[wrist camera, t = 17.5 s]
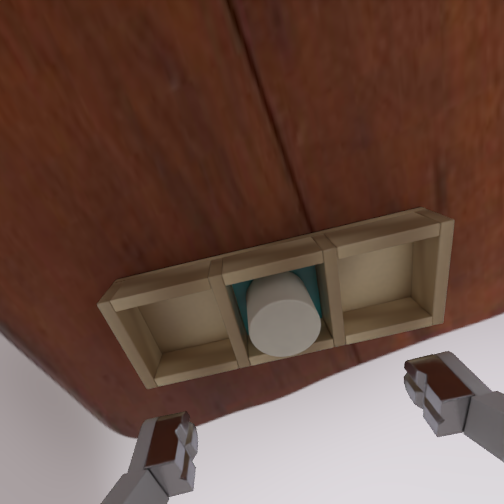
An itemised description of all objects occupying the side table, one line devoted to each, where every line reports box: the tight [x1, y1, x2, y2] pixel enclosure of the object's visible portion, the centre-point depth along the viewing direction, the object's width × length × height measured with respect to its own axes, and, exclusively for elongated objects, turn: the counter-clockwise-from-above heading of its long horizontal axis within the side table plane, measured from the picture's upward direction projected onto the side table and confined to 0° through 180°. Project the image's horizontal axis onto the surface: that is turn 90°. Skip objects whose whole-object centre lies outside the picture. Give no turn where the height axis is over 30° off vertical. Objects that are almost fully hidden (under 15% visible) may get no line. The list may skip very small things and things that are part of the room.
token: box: [246, 271, 321, 357], centre depth 14 cm, size 4×4×3 cm
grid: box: [97, 207, 454, 389], centre depth 15 cm, size 18×6×2 cm, turn 103°
